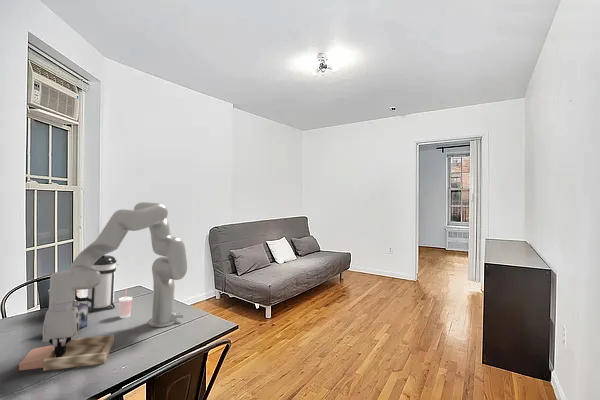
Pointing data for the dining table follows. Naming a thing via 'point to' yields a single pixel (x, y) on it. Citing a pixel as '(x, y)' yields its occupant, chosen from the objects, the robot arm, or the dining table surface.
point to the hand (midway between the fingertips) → (59, 355)
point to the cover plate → (37, 357)
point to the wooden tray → (82, 353)
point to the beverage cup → (125, 306)
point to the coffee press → (102, 285)
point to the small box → (82, 315)
